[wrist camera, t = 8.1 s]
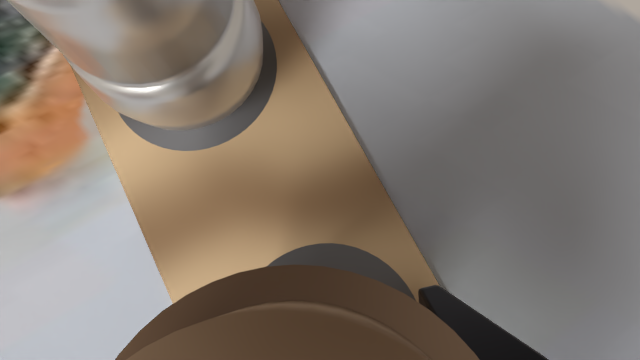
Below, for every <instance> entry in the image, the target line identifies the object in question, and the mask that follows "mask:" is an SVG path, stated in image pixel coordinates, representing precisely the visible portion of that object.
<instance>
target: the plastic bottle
mask: <svg viewBox="0 0 640 360" xmlns="http://www.w3.org/2000/svg"><path fill="white" fill-rule="evenodd" d="M7 1H8V2H9V3H10V4H11V5H12V6H13V7H14V8H15V9H16V10H17V11H18V12H19V13H20V14H21V15H22V16H24V17H25V18H26V19H27V20H28V21H29V22H30V23H31V24H32V25H33V26H34V27H35V28H36V29H37V30H38V31H39V32H40V33H41V34H42V35H44V36H45V37H46V38H47V39H48V40H49V41H50V42H51V43H52V44H53V45H54V46H55V47H56V48H57V49H58V50H59V51H60V52H61V53H62V54H63V55H64V57H65V58H66V60H67V61H68V62H69V64H70V65H71V66H72V68H73V69H74V70H75V71H76V72H77V74H78V75H79V76H80V77H81V78H82V79H83V80H84V82H85V83H86V84H87V85H88V86H89V87H90V88H91V89H92V90H93V91H94V92H95V93H96V94H97V95H98V96H99V97H100V98H101V99H102V100H103V101H104V102H105V103H106V104H108V105H109V106H110V107H112V108H113V109H114V110H116V111H117V112H119V113H121V114H123V115H125V116H128V117H130V118H132V119H134V120H137V121H140V122H142V123H145V124H148V125H151V126H154V127H158V128H162V129H166V130H183V131H184V130H191V129H198V128H202V127H205V126H208V125H211V124H214V123H216V122H218V121H220V120H222V119H223V118H225V117H227V116H229V115H230V114H231V113H232V112H234V111H235V110H236V109H237V108H238V107H240V106H241V105H242V104H243V102H244V101H245V100H246V99H247V97H248V96H249V95H250V94H251V92H252V90H253V89H254V87H255V85H256V83H257V81H258V79H259V75H260V71H261V68H262V62H263V34H262V26H261V20H260V15H259V12H258V10H257V7H256V5H255V2H254V0H7Z"/></svg>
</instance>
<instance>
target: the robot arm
mask: <svg viewBox="0 0 640 360" xmlns="http://www.w3.org/2000/svg"><path fill="white" fill-rule="evenodd" d="M418 298H419V303H420V304H421V305H423V306H424V307H426V308H427V309H429V310H430V311H431V312H433V313H434V314H435V315H436V316H437V317H439V318H440V319H441V320H442V321H443V322H444V323H446V324H447V325H448V326H449V327H450V328H451V329H453V330H454V331H455V332H456V333H457V335H458V336H459V337H460V338H461V339H462V340H463V341H464V342H465V343H466V344H467V345H468V347H469V348H470V349H471V350H472V351H473V352H474V353H475V354H476V356H477V357H478V358H479V360H549V359H547V358H546V357H544V356H543V355H541V354H540V353H538V352H537V351H535V350H534V349H532V348H531V347H529V346H528V345H526V344H525V343H523V342H522V341H520V340H519V339H517V338H516V337H514V336H513V335H511V334H510V333H508V332H507V331H505V330H504V329H502V328H501V327H499V326H498V325H496V324H495V323H493V322H492V321H491V320H489V319H488V318H486V317H485V316H483V315H482V314H480V313H479V312H477V311H476V310H474V309H473V308H471V307H470V306H468V305H467V304H465V303H464V302H462V301H461V300H459V299H458V298H456V297H455V296H453V295H452V294H450V293H449V292H447V291H446V290H444V289H443V288H441V287H440V286H438V285H432V286H428V287H423V288H420V289H419V290H418Z"/></svg>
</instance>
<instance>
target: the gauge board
mask: <svg viewBox="0 0 640 360" xmlns="http://www.w3.org/2000/svg"><path fill="white" fill-rule="evenodd" d="M254 2H255V5H256V7H257V10H258V12H259V15H260V20H261V26H262V34H263V62H262V68H261V71H260V75H259V79H258V81H257V83H256V85H255V87H254V89H253V90H252V92H251V94H250V95H249V96H248V97H247V99H246V100H245V101H244V102H243V104H242V105H241V106H240V107H238V108H237V109H236V110H235V111H234V112H232V113H231V114H230V115H229V116H227V117H225V118H223V119H222V120H220V121H218V122H216V123H214V124H211V125H208V126H205V127H202V128H198V129H191V130H184V131H183V130H166V129H162V128H158V127H154V126H151V125H148V124H145V123H142V122H140V121H137V120H134V119H132V118H130V117H128V116H125V115H123V114H121V113H119V112H117V111H116V110H114V109H113V108H112V107H110V106H109V105H108V104H106V103H105V102H104V101H103V100H102V99H101V98H100V97H99V96H98V95H97V94H96V93H95V92H94V91H93V90H92V89H91V88H90V87H89V86H88V85H87V84H86V83H85V82H84V80H83V79H82V78H81V77H80V76H79V75H78V74H77V72H76V71H75V70H74V69H73V68H72V70H73V72H74V74H75V77H76V79H77V81H78V84H79V86H80V88H81V91H82V93H83V95H84V98H85V100H86V102H87V105H88V107H89V109H90V112H91V114H92V116H93V119H94V121H95V123H96V126H97V128H98V130H99V133H100V135H101V137H102V140H103V142H104V144H105V147H106V149H107V151H108V154H109V156H110V158H111V161H112V163H113V165H114V168H115V170H116V172H117V174H118V177H119V179H120V181H121V184H122V186H123V188H124V191H125V193H126V195H127V198H128V200H129V202H130V205H131V207H132V209H133V212H134V214H135V216H136V219H137V221H138V223H139V226H140V228H141V230H142V233H143V235H144V237H145V240H146V242H147V244H148V247H149V249H150V251H151V254H152V256H153V258H154V261H155V263H156V265H157V268H158V270H159V272H160V275H161V277H162V279H163V281H164V284H165V286H166V288H167V291H168V293H169V295H170V298H171V300H172V302H173V304H174V303H175V302H177V301H178V300H180V299H181V298H183V297H184V296H185V295H187V294H189V293H191V292H193V291H195V290H197V289H199V288H201V287H203V286H205V285H207V284H209V283H211V282H213V281H216V280H219V279H222V278H224V277H227V276H230V275H233V274H236V273H239V272H243V271H248V270H253V269H257V268H262V267H268V266H281V265H294V264H295V265H312V266H325V267H330V268H335V269H340V270H345V271H351V272H353V273H356V274H359V275H362V276H365V277H368V278H371V279H374V280H377V281H380V282H382V283H384V284H386V285H388V286H390V287H392V288H394V289H396V290H398V291H400V292H402V293H404V294H406V295H407V296H409V297H411V298H412V299H414V300H415V301H417V302H418V303H419V298H418V290H419V289H420V288H423V287H428V286H432V285H438V286H439V284H438V282H437V280H436V279H435V277H434V275H433V273H432V272H431V270H430V268H429V266H428V265H427V263H426V261H425V259H424V257H423V256H422V254H421V252H420V250H419V249H418V247H417V245H416V243H415V242H414V240H413V238H412V236H411V234H410V233H409V231H408V229H407V227H406V226H405V224H404V222H403V220H402V219H401V217H400V215H399V213H398V211H397V210H396V208H395V206H394V204H393V203H392V201H391V199H390V197H389V196H388V194H387V192H386V190H385V188H384V187H383V185H382V183H381V181H380V180H379V178H378V176H377V174H376V173H375V171H374V169H373V167H372V165H371V164H370V162H369V160H368V158H367V157H366V155H365V153H364V151H363V150H362V148H361V146H360V144H359V142H358V141H357V139H356V137H355V135H354V134H353V132H352V130H351V128H350V127H349V125H348V123H347V121H346V119H345V118H344V116H343V114H342V112H341V111H340V109H339V107H338V105H337V104H336V102H335V100H334V98H333V96H332V95H331V93H330V91H329V89H328V88H327V86H326V84H325V82H324V81H323V79H322V77H321V75H320V73H319V72H318V70H317V68H316V66H315V65H314V63H313V61H312V59H311V58H310V56H309V54H308V52H307V50H306V49H305V47H304V45H303V43H302V42H301V40H300V38H299V36H298V35H297V33H296V31H295V29H294V27H293V26H292V24H291V22H290V20H289V19H288V17H287V15H286V13H285V12H284V10H283V8H282V6H281V4H280V3H279V1H278V0H254ZM71 67H72V66H71Z"/></svg>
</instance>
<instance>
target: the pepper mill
mask: <svg viewBox="0 0 640 360" xmlns="http://www.w3.org/2000/svg"><path fill="white" fill-rule="evenodd" d="M115 360H479V358H478V357H477V356H476V354H475V353H474V352H473V351H472V350H471V349H470V348H469V347H468V345H467V344H466V343H465V342H464V341H463V340H462V339H461V338H460V337H459V336H458V335H457V333H456V332H455V331H454V330H453V329H451V328H450V327H449V326H448V325H447V324H446V323H444V322H443V321H442V320H441V319H440V318H439V317H437V316H436V315H435V314H434V313H433V312H431V311H430V310H429V309H427V308H426V307H424V306H423V305H421V304H420V303H418V302H417V301H415V300H414V299H412V298H411V297H409V296H407V295H406V294H404V293H402V292H400V291H398V290H396V289H394V288H392V287H390V286H388V285H386V284H384V283H382V282H380V281H377V280H374V279H371V278H368V277H365V276H362V275H359V274H356V273H353V272H351V271H345V270H340V269H335V268H330V267H325V266H312V265H295V264H294V265H281V266H268V267H262V268H257V269H253V270H248V271H243V272H239V273H236V274H233V275H230V276H227V277H224V278H222V279H219V280H216V281H213V282H211V283H209V284H207V285H205V286H203V287H201V288H199V289H197V290H195V291H193V292H191V293H189V294H187V295H185V296H184V297H183V298H181V299H180V300H178V301H177V302H175V303H174V304H172V305H171V306H169V307H168V308H166V309H165V310H163V311H162V312H161V313H160V314H159V315H157V316H156V317H155V318H154V319H153V320H152V321H151V322H149V323H148V324H147V325H146V326H145V327H144V328H143V329H142V330H140V331H139V332H138V334H137V335H136V336H135V337H134V338H133V339H132V340H131V341H130V343H129V344H128V345H127V346H126V347H125V348H124V349H123V350H122V352H121V353H120V354H119V355H118V357H117V358H116V359H115Z"/></svg>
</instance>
